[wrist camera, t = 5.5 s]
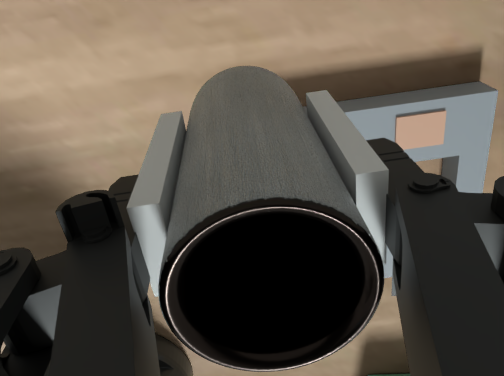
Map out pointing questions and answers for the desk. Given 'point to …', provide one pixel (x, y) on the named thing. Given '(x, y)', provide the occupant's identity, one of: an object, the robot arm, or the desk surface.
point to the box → (391, 375)
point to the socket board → (433, 129)
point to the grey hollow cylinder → (263, 234)
